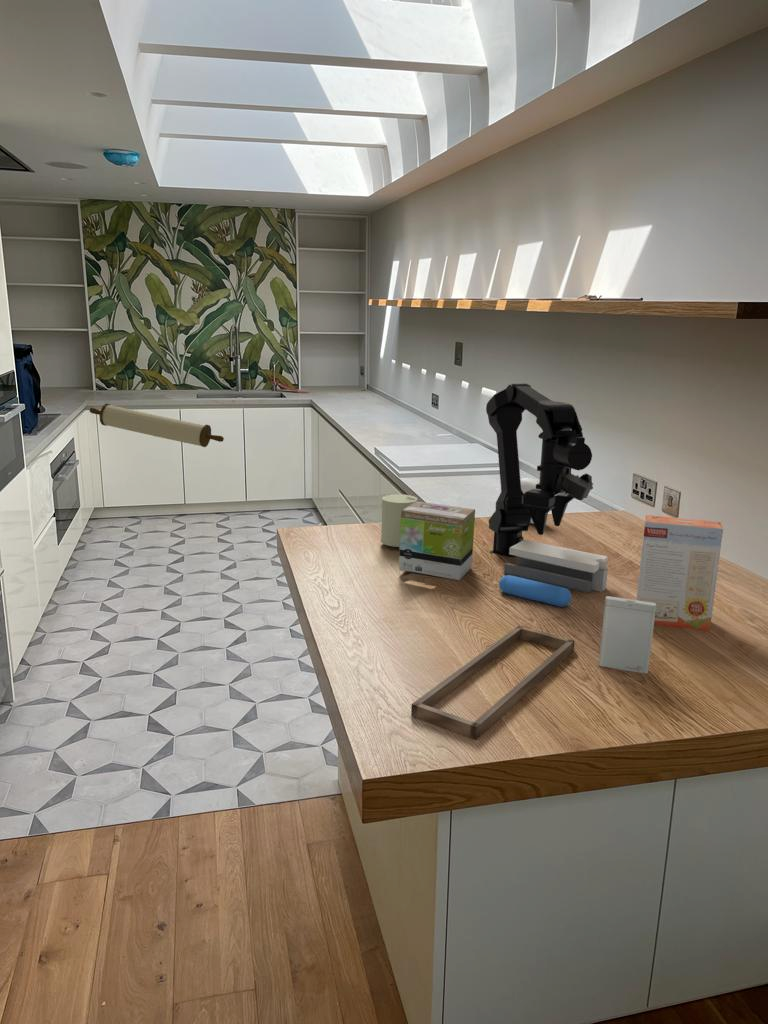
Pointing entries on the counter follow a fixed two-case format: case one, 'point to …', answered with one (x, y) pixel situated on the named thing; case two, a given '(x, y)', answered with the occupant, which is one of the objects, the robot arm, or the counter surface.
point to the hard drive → (627, 634)
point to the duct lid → (559, 556)
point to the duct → (558, 575)
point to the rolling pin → (156, 425)
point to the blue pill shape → (535, 590)
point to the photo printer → (528, 486)
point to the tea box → (436, 540)
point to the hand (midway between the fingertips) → (549, 530)
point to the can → (393, 517)
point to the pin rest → (460, 725)
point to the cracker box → (680, 569)
